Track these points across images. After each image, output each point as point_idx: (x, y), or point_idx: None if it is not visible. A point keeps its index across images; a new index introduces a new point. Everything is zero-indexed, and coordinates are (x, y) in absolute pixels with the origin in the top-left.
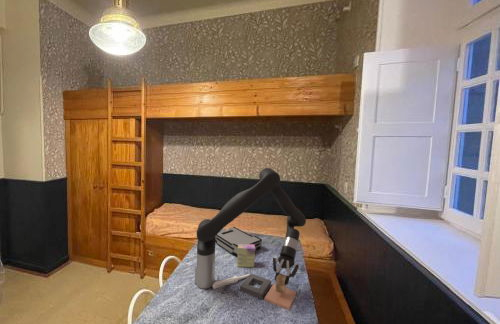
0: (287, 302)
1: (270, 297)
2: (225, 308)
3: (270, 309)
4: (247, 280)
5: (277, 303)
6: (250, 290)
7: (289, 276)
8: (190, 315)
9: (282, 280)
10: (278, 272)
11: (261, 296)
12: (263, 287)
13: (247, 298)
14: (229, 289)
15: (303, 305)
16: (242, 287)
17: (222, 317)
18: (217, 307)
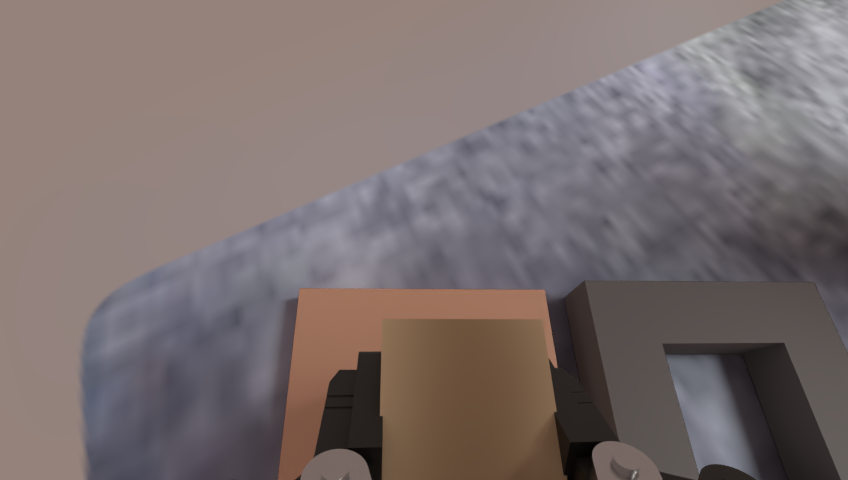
0: (329, 344)
1: None
2: (692, 118)
3: (447, 234)
4: (844, 402)
5: (415, 289)
6: (698, 283)
7: (302, 474)
8: (772, 28)
9: (419, 323)
10: (588, 474)
11: (576, 289)
12: (634, 387)
13: (657, 251)
14: (836, 269)
15: (167, 436)
16: (780, 283)
17: (651, 69)
18: (731, 107)
